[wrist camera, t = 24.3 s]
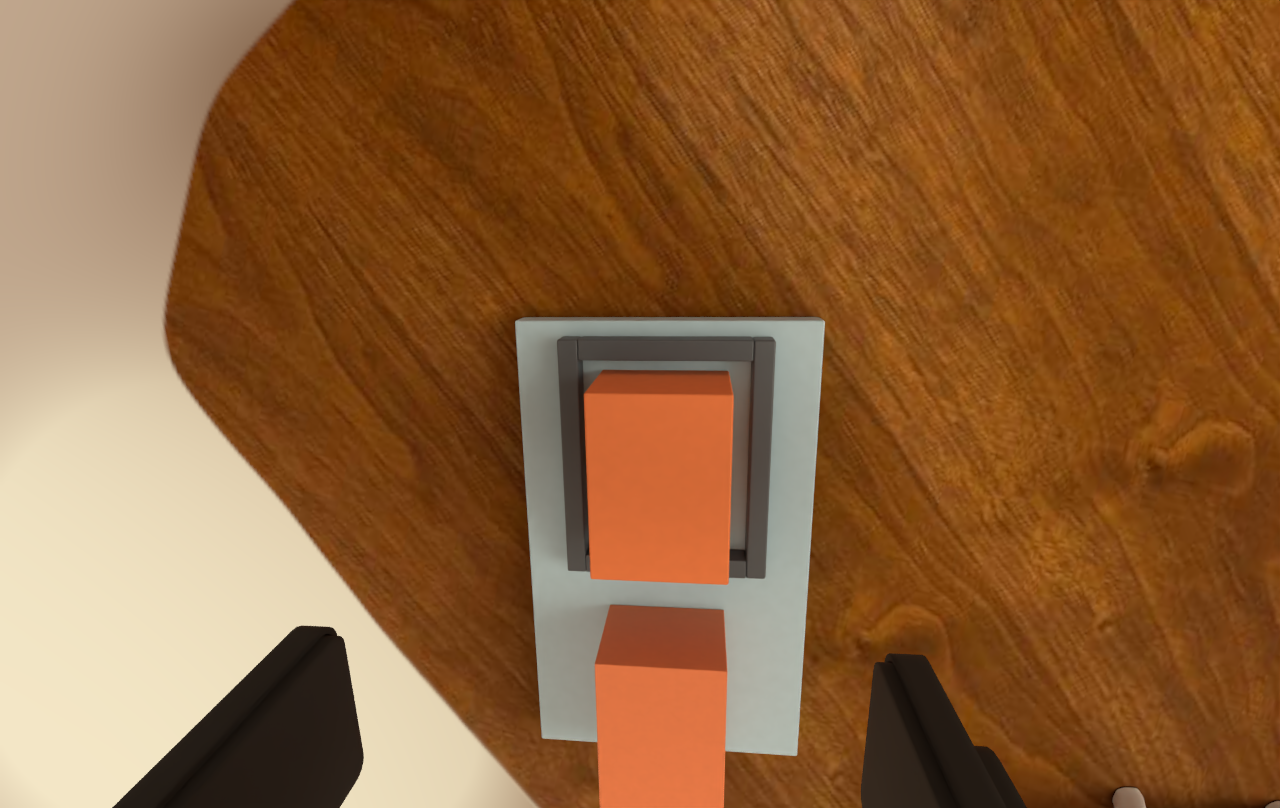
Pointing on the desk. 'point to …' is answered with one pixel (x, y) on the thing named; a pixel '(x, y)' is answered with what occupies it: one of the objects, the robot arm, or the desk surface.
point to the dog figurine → (1132, 802)
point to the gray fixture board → (661, 611)
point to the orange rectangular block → (659, 475)
